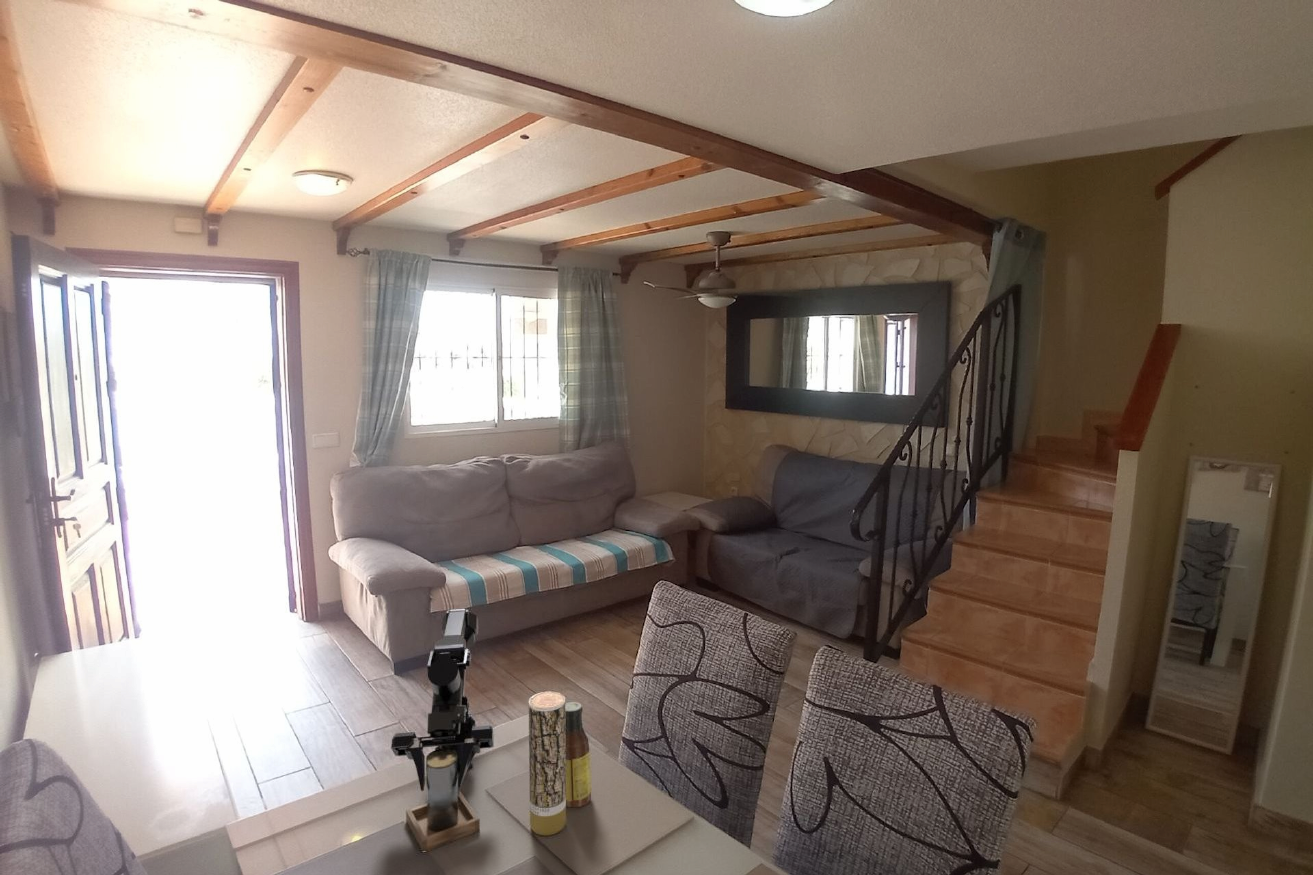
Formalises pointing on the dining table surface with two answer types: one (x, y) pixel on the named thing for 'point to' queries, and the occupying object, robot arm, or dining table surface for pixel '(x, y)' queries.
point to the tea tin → (442, 789)
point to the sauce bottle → (576, 758)
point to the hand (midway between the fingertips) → (440, 788)
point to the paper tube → (547, 762)
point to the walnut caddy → (434, 839)
